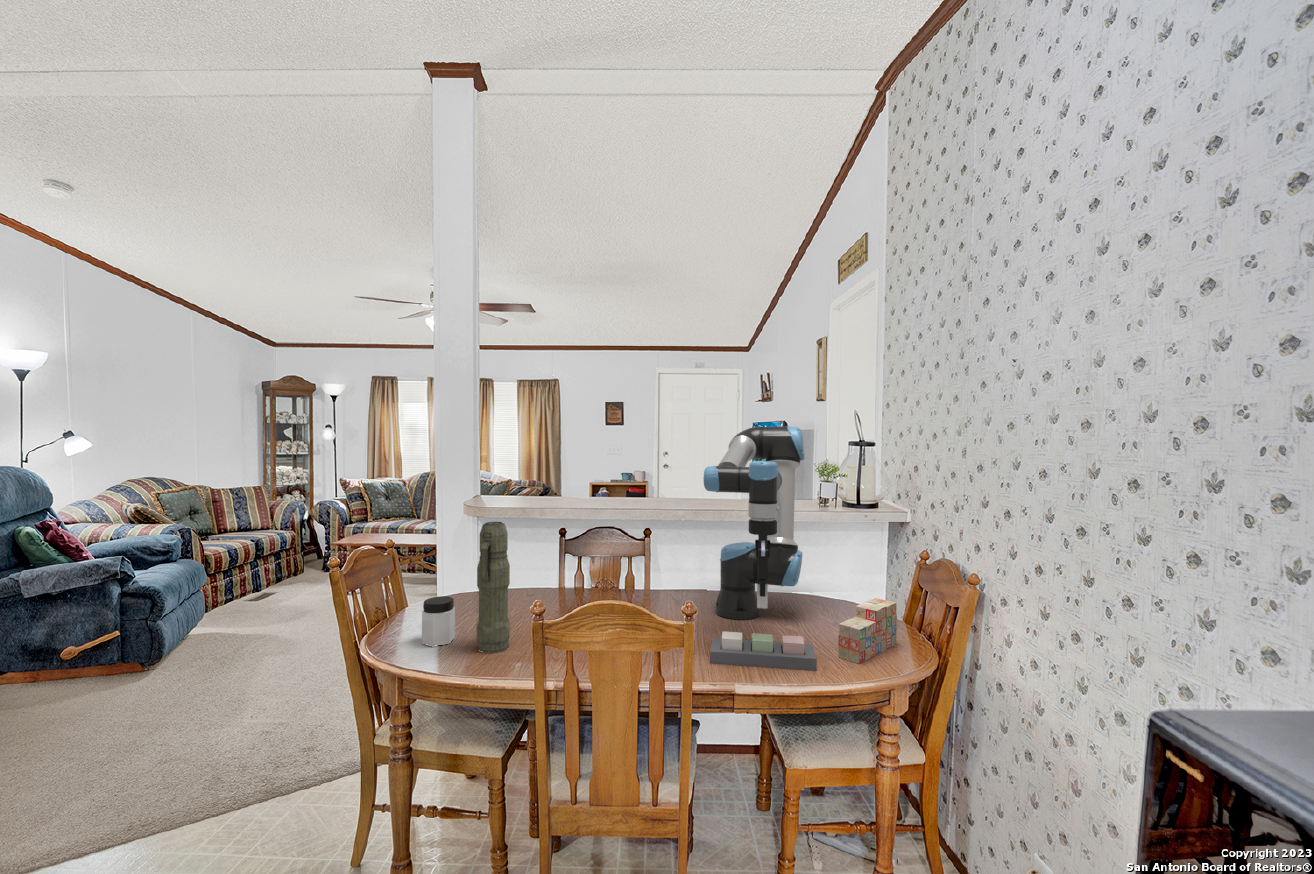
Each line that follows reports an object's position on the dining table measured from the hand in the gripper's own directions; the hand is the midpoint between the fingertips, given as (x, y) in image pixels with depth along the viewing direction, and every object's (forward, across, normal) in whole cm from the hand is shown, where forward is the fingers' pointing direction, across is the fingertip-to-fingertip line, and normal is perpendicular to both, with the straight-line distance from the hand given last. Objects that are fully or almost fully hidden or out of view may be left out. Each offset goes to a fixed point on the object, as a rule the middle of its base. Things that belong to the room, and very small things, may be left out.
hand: (762, 607), depth 148 cm
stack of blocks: (+14, +12, -29) cm, 35 cm away
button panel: (+14, +1, 0) cm, 14 cm away
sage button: (+12, +1, 0) cm, 12 cm away
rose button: (+12, +1, -8) cm, 15 cm away
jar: (+15, -3, +92) cm, 93 cm away
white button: (+12, +1, +8) cm, 15 cm away
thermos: (+14, -5, +74) cm, 76 cm away
